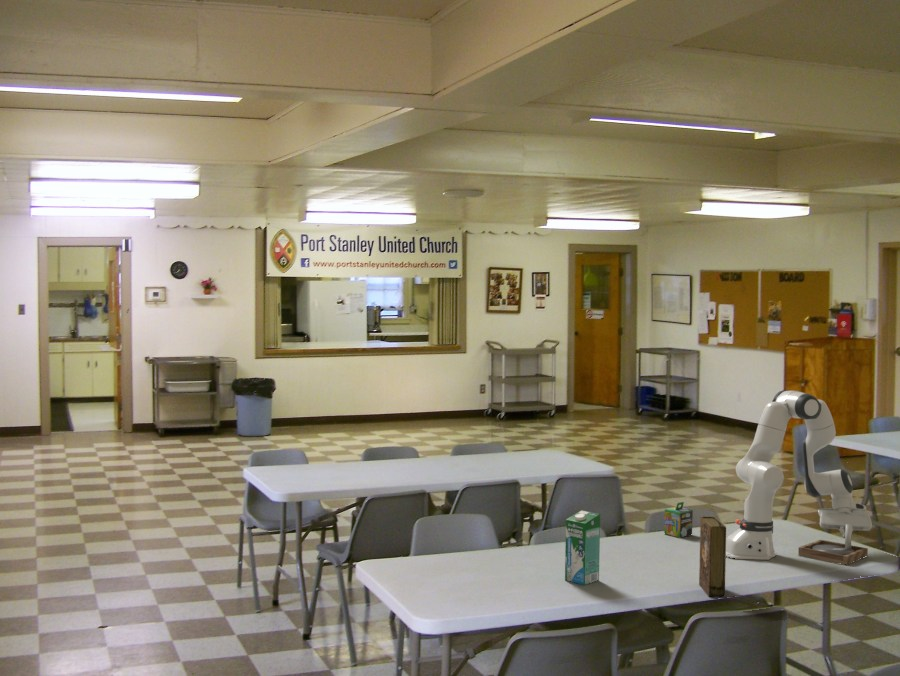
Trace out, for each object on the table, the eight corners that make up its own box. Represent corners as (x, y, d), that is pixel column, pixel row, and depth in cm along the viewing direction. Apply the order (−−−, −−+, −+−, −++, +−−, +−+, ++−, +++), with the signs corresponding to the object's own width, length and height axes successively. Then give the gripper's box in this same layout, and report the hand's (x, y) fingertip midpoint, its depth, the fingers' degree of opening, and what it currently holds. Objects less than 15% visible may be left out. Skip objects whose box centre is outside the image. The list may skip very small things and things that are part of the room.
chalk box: (676, 531, 445) (676, 499, 444) (692, 535, 438) (693, 502, 437) (663, 534, 439) (663, 501, 438) (680, 538, 432) (680, 504, 431)
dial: (824, 557, 394) (825, 529, 394) (805, 547, 410) (805, 521, 410) (861, 556, 397) (862, 529, 396) (841, 547, 412) (841, 520, 412)
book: (698, 584, 361) (699, 516, 360) (713, 584, 360) (714, 516, 360) (709, 597, 344) (710, 526, 343) (724, 597, 344) (726, 526, 343)
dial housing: (846, 565, 389) (846, 556, 389) (798, 555, 404) (798, 546, 404) (867, 556, 403) (867, 548, 403) (820, 547, 418) (820, 539, 417)
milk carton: (564, 580, 363) (565, 513, 362) (579, 575, 370) (580, 509, 369) (584, 585, 357) (585, 517, 356) (599, 580, 363) (600, 513, 362)
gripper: (818, 503, 415) (821, 531, 406) (870, 506, 411) (874, 534, 401) (816, 511, 419) (819, 539, 410) (867, 514, 415) (871, 542, 406)
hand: (847, 537), depth 406 cm, fingers closed, pressing on dial
